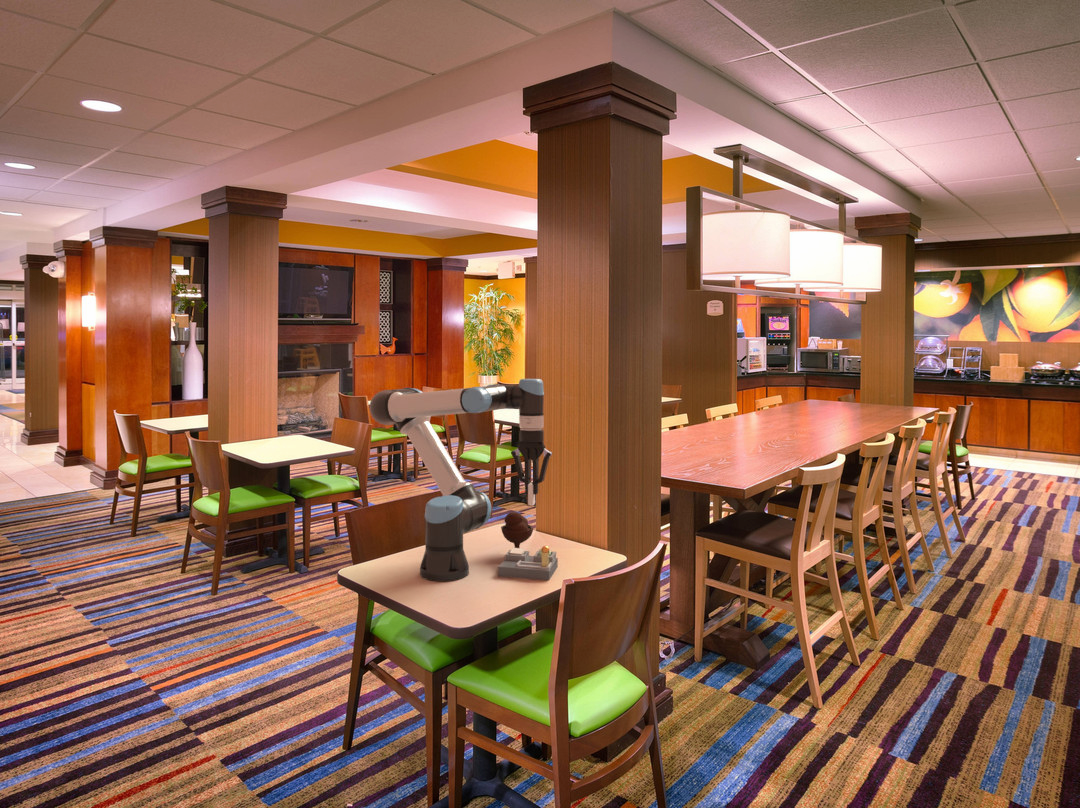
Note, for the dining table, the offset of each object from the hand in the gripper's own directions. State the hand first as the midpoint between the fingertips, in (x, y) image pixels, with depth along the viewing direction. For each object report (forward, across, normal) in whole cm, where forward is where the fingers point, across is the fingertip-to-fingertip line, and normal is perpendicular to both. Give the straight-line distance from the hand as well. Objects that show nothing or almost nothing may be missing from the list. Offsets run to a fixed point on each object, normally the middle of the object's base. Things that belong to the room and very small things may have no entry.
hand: (531, 504), depth 214 cm
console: (+22, -1, +1) cm, 22 cm away
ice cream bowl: (+22, -10, +16) cm, 29 cm away
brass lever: (+19, +5, -2) cm, 19 cm away
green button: (+19, +3, +4) cm, 19 cm away
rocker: (+17, -6, +4) cm, 19 cm away
